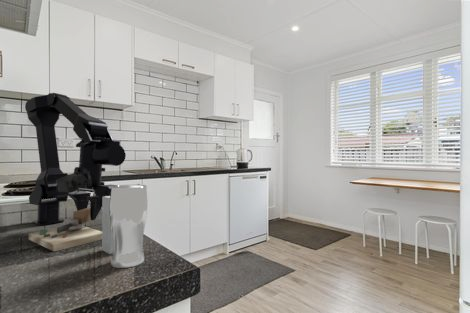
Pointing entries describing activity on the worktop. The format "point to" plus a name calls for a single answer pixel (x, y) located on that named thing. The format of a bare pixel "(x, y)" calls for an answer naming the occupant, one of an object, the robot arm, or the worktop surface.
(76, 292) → the worktop surface
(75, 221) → the gauge needle
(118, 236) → the beer glass
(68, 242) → the dial board
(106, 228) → the skincare box
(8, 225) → the worktop surface
